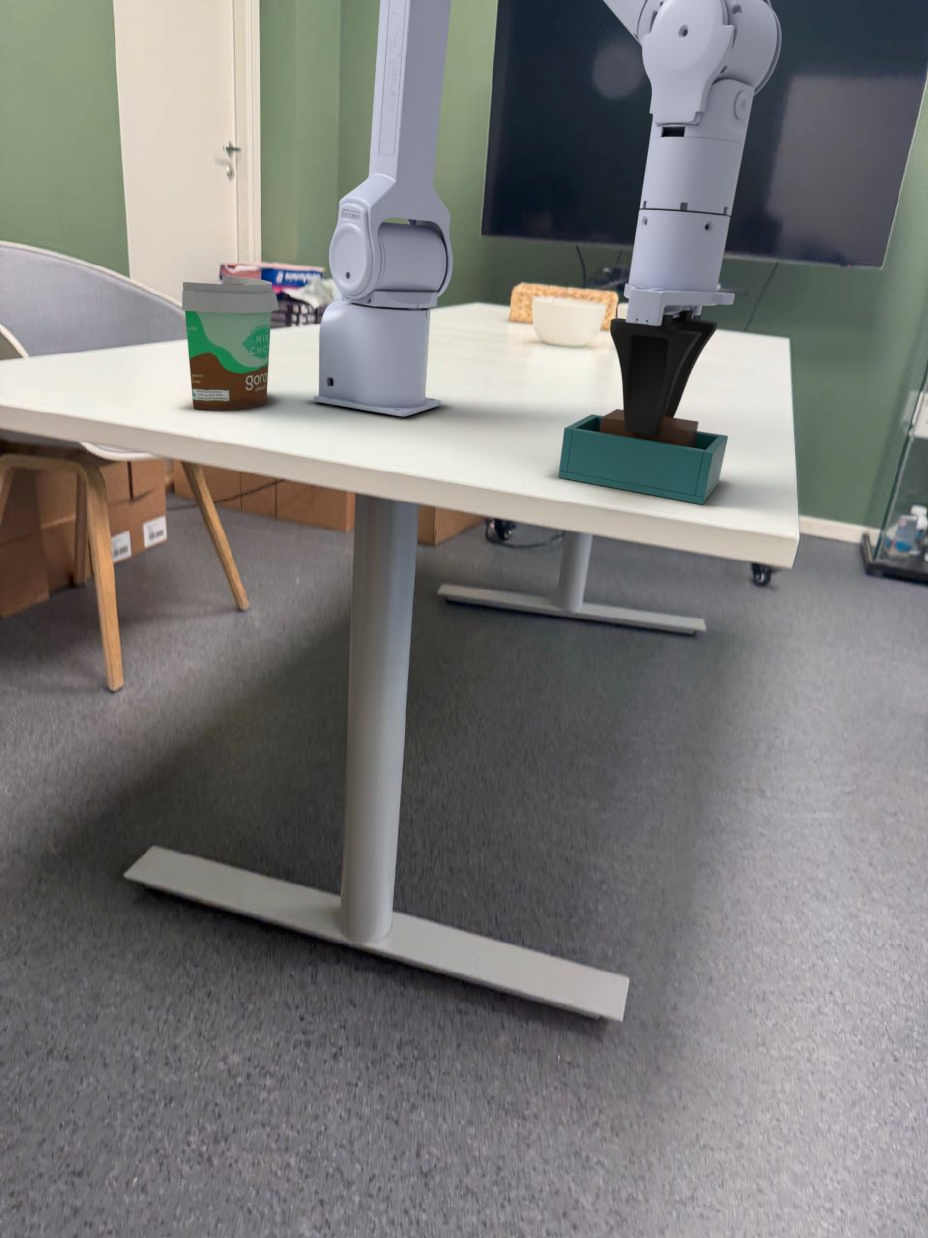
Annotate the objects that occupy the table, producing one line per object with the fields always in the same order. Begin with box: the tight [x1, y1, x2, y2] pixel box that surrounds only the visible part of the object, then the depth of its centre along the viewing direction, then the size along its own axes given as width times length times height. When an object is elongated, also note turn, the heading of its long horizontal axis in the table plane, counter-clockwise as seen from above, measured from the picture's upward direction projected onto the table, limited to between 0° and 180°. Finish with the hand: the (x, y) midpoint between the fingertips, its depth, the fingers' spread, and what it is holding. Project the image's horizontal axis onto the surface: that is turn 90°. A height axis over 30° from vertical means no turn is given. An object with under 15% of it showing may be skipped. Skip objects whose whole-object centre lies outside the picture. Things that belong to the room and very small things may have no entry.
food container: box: [181, 275, 280, 411], centre depth 73 cm, size 12×6×10 cm, turn 179°
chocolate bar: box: [600, 408, 700, 448], centre depth 60 cm, size 6×4×2 cm, turn 66°
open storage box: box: [558, 414, 729, 505], centre depth 60 cm, size 10×7×4 cm, turn 66°
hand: (648, 427), depth 60 cm, fingers closed on chocolate bar, 4 cm apart
